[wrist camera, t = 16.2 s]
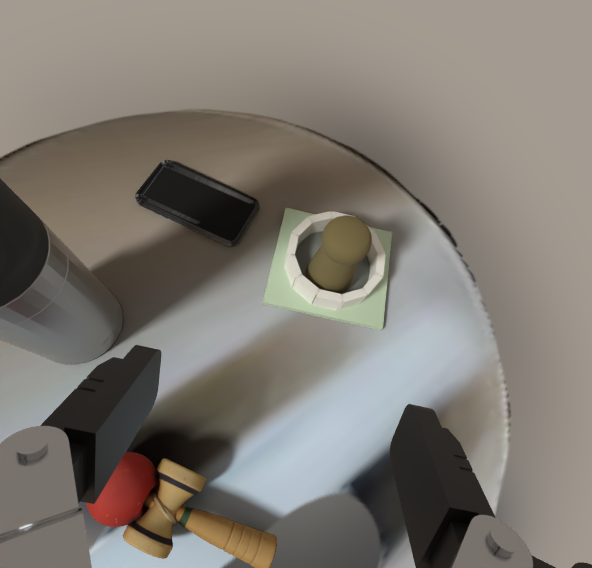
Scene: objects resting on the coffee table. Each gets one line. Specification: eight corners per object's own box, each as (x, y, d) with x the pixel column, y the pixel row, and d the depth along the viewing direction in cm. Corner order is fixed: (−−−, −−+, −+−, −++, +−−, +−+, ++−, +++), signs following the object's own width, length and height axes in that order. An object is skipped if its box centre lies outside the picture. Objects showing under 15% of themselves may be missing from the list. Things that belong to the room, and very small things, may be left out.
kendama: (283, 495, 39) (124, 425, 37) (294, 523, 33) (104, 441, 31) (251, 572, 37) (83, 502, 36) (255, 617, 31) (53, 535, 30)
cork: (327, 246, 48) (348, 195, 38) (361, 277, 47) (392, 234, 37) (294, 274, 46) (308, 228, 36) (329, 307, 45) (353, 270, 35)
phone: (164, 157, 51) (262, 201, 50) (166, 163, 52) (261, 206, 51) (131, 199, 48) (234, 247, 47) (133, 204, 49) (234, 251, 48)
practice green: (262, 304, 45) (263, 293, 42) (285, 210, 51) (287, 194, 47) (380, 330, 46) (391, 321, 42) (390, 235, 51) (400, 220, 48)
